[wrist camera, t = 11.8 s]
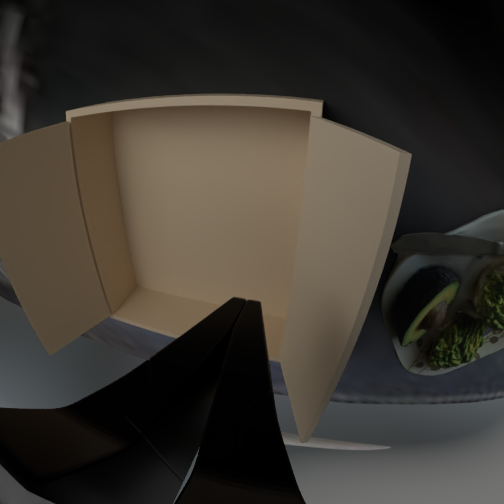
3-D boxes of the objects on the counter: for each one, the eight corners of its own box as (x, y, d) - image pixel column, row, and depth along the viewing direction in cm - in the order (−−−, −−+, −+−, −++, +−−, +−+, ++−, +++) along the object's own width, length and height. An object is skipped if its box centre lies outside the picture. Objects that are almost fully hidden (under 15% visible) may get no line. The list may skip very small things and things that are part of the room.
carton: (323, 100, 16) (322, 102, 12) (294, 319, 26) (285, 363, 21) (110, 101, 19) (65, 111, 15) (136, 285, 28) (110, 317, 24)
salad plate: (552, 158, 12) (585, 177, 8) (548, 314, 18) (564, 342, 14) (354, 240, 21) (358, 276, 17) (403, 374, 27) (406, 409, 23)
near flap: (310, 115, 12) (318, 116, 12) (279, 359, 21) (284, 358, 21) (399, 152, 6) (411, 154, 6) (301, 443, 15) (307, 441, 15)
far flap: (-28, 154, 10) (-28, 154, 10) (49, 356, 19) (48, 353, 19) (68, 121, 15) (66, 121, 15) (110, 315, 24) (108, 313, 24)
